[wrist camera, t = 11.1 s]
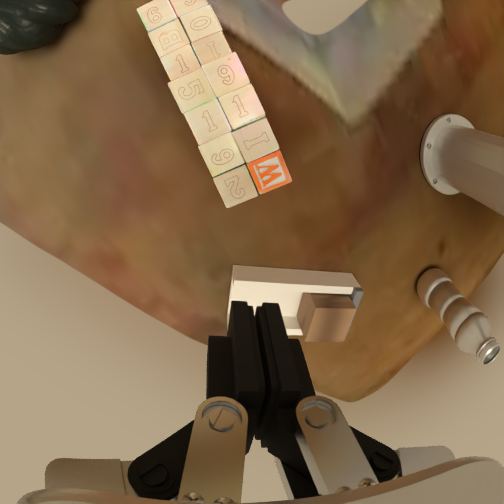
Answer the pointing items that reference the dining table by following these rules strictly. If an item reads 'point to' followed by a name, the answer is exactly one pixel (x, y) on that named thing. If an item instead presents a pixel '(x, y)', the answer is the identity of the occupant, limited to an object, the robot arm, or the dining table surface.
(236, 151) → the stack of blocks
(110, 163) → the dining table surface
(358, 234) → the dining table surface
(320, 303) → the walnut block
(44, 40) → the squash
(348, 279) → the chute
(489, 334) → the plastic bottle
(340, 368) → the dining table surface
